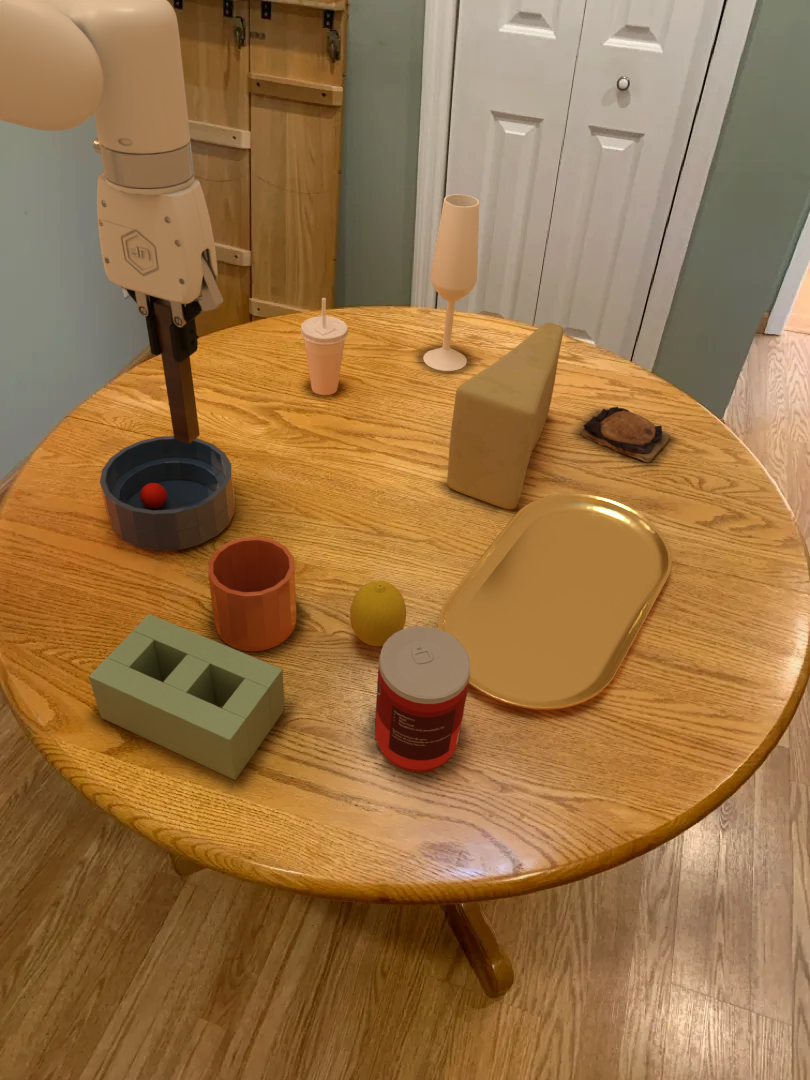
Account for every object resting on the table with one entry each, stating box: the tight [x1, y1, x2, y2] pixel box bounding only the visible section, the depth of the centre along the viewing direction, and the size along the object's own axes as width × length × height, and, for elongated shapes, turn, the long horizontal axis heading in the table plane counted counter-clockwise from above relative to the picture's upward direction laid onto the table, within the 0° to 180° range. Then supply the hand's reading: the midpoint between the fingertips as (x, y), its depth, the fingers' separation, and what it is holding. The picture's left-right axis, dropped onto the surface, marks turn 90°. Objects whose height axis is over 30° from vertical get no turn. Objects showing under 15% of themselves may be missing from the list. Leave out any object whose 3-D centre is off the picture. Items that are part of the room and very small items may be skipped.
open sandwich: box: [579, 406, 671, 464], centre depth 115 cm, size 11×8×4 cm
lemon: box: [349, 580, 407, 647], centre depth 83 cm, size 6×6×8 cm
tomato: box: [140, 483, 167, 509], centre depth 97 cm, size 3×3×3 cm
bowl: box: [99, 435, 236, 552], centre depth 97 cm, size 14×14×6 cm
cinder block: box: [88, 613, 286, 781], centre depth 76 cm, size 8×14×6 cm, turn 65°
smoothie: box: [300, 297, 349, 396], centre depth 116 cm, size 6×6×14 cm
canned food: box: [374, 625, 470, 773], centre depth 74 cm, size 8×8×11 cm
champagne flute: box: [422, 193, 480, 372], centre depth 121 cm, size 7×7×24 cm
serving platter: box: [437, 493, 673, 711], centre depth 92 cm, size 19×35×2 cm, turn 149°
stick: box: [153, 298, 200, 444], centre depth 87 cm, size 2×2×16 cm
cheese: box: [446, 322, 564, 510], centre depth 106 cm, size 22×10×15 cm, turn 152°
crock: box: [207, 536, 297, 652], centre depth 84 cm, size 8×8×8 cm
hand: (174, 351), depth 85 cm, fingers closed on stick, 2 cm apart
